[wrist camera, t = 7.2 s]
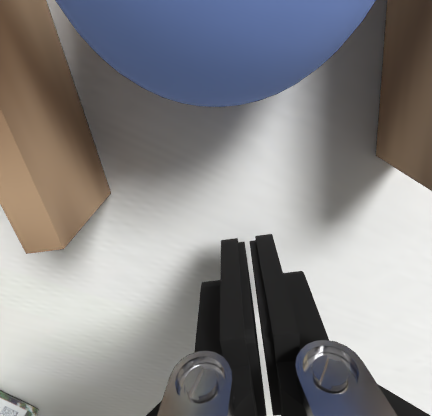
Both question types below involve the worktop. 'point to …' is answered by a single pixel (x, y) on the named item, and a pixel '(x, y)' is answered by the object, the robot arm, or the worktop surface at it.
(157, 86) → the ball
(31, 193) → the lane
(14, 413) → the syrup box
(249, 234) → the worktop surface
